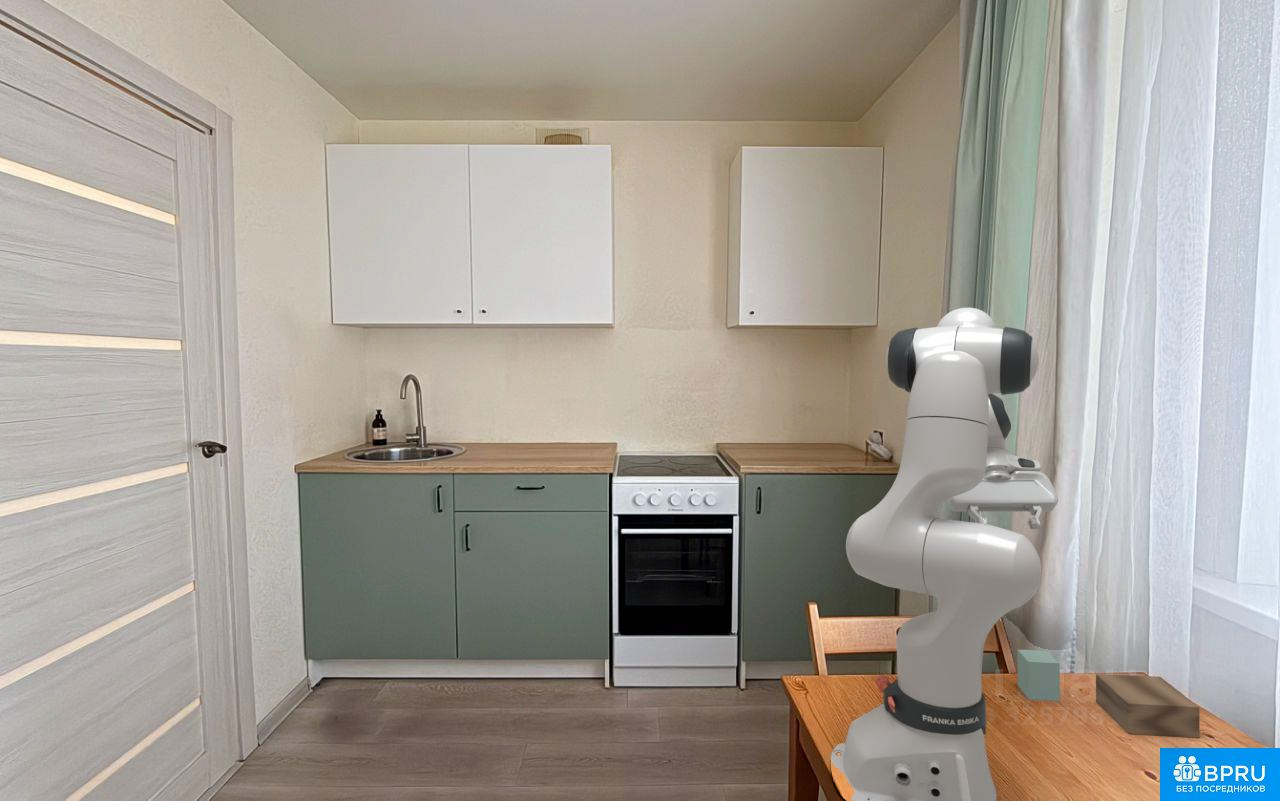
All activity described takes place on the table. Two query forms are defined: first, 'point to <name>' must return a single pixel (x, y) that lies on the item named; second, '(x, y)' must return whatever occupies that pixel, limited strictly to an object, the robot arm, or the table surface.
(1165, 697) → the walnut block
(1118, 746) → the table surface
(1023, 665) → the sage block
